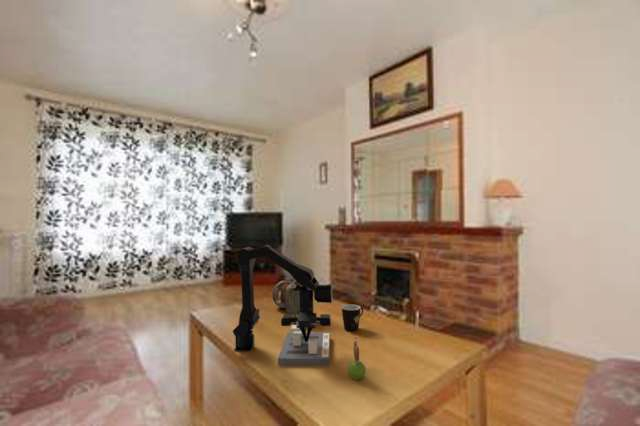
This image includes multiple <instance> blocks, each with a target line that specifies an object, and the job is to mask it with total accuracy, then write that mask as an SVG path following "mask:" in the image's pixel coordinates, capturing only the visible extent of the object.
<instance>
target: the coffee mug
mask: <svg viewBox="0 0 640 426" xmlns="http://www.w3.org/2000/svg"><path fill="white" fill-rule="evenodd" d="M341 313H342V315H341V316H342V322H343V330H344V331H346V332H348V333H354V332H355V333H356V332H358V331H359V326H360V325H359V324H360V319H361V317H362V315H363V313H364V308H363V307H361V306H360V305H357V304H344V305H342V306H341Z"/></svg>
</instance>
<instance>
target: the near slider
mask: <svg viewBox="0 0 640 426" xmlns="http://www.w3.org/2000/svg"><path fill="white" fill-rule="evenodd" d="M308 348H309V354H317V338H309V342H308Z"/></svg>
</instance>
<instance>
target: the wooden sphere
mask: <svg viewBox="0 0 640 426" xmlns="http://www.w3.org/2000/svg"><path fill="white" fill-rule="evenodd" d="M293 282H294V281H290V280H281V281H279V282H277V284H275V286H273V290H272V293H271V295H272V296H271V297H272V301H273V302H274V304H275V305H276V306H277V307H280V308H282V309H286V288H287V287H288V286H289V285H290V284H292V283H293Z"/></svg>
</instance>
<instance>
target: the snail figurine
mask: <svg viewBox="0 0 640 426" xmlns="http://www.w3.org/2000/svg"><path fill="white" fill-rule="evenodd" d="M357 338H358V337H357V336H356V337H355V336H354V337H353V338H352V339H353V357H354V361H352V362H350V364H349V367H348V374H349V376H350V377H351V378H352V379H354V380H361V379H363V378H364V376H365V375H366V372H367V371H366V370H367V369H366V366H365V365H364V363H363V362H362V361H360V348H359V346H358V342H357Z"/></svg>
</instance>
